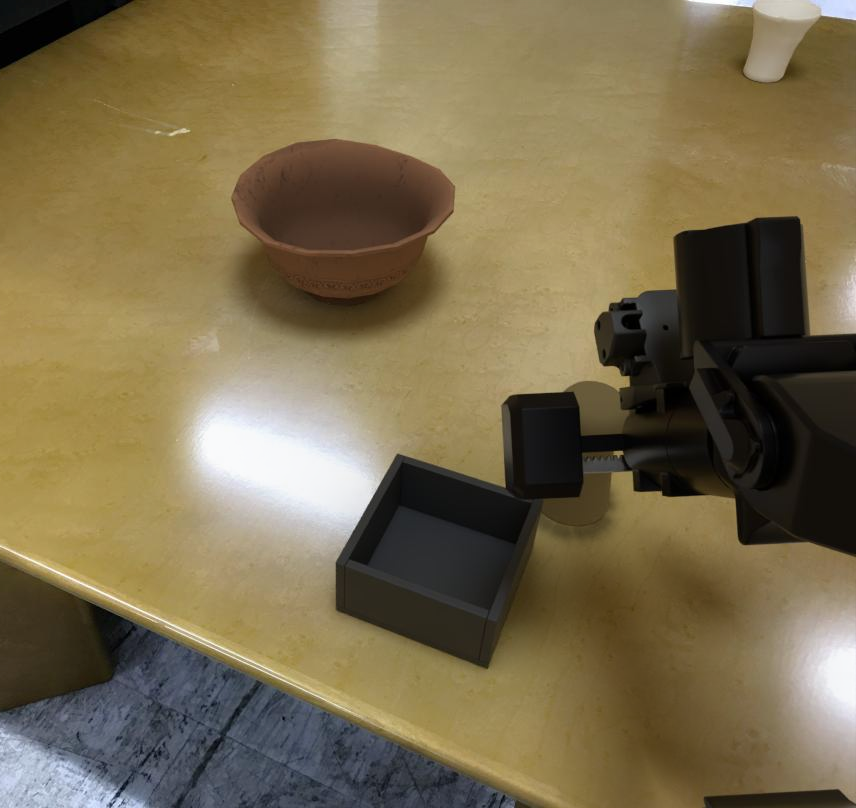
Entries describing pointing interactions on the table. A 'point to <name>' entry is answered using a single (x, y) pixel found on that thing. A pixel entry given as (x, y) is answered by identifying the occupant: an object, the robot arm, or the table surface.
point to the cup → (777, 36)
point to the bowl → (342, 215)
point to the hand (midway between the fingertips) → (614, 439)
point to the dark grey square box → (438, 558)
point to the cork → (590, 454)
